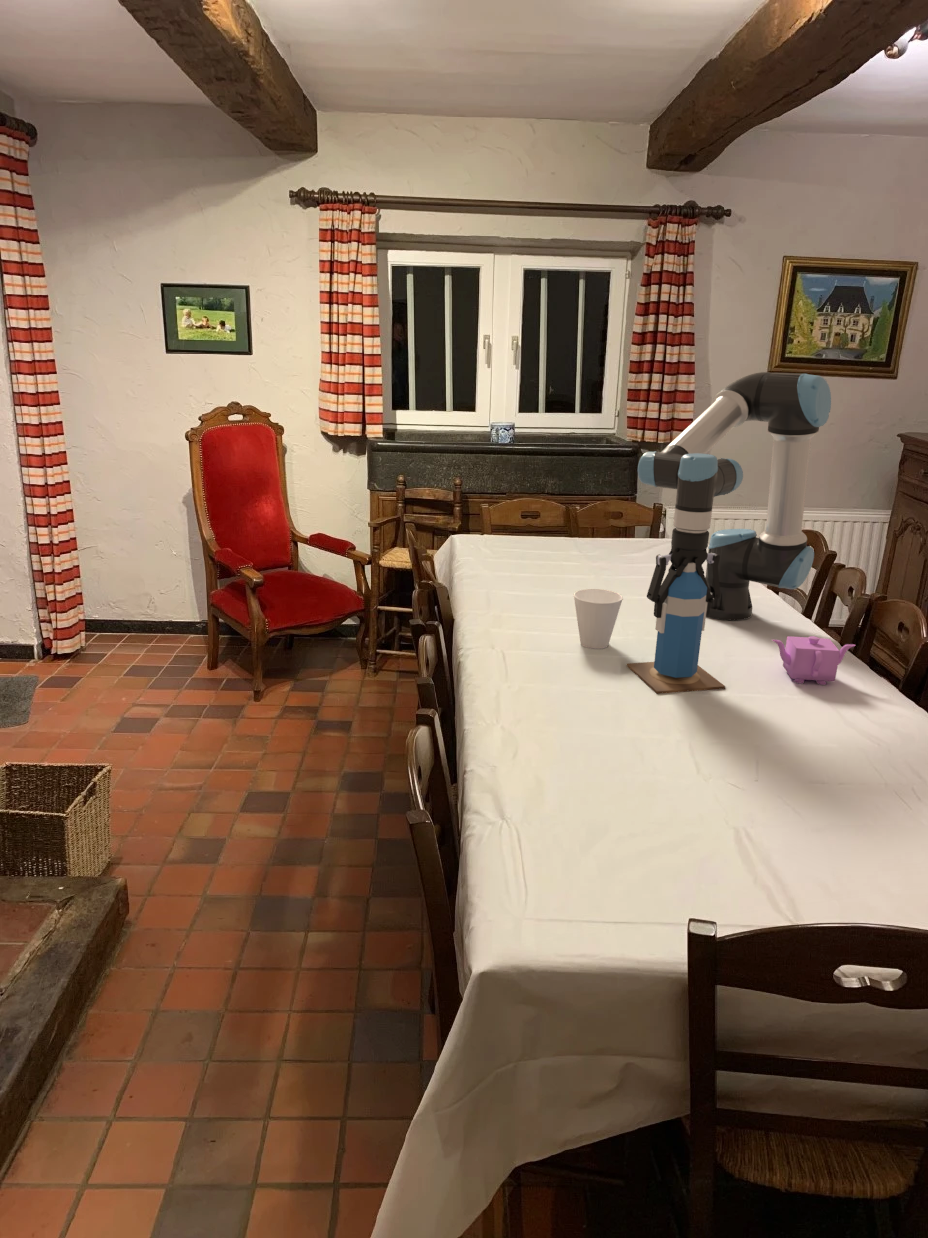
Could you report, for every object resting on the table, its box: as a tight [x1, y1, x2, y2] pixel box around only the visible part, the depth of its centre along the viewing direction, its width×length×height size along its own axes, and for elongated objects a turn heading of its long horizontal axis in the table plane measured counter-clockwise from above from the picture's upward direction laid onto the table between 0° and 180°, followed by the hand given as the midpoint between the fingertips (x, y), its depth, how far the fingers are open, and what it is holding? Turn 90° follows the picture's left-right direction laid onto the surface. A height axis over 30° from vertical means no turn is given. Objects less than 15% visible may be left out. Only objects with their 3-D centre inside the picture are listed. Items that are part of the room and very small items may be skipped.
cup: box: [573, 588, 624, 650], centre depth 204 cm, size 12×12×12 cm
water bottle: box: [653, 562, 707, 678], centre depth 182 cm, size 9×9×25 cm
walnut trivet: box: [626, 661, 726, 695], centre depth 187 cm, size 16×16×1 cm
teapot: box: [771, 635, 856, 686], centre depth 187 cm, size 18×13×10 cm
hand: (679, 629), depth 183 cm, fingers open, 9 cm apart
